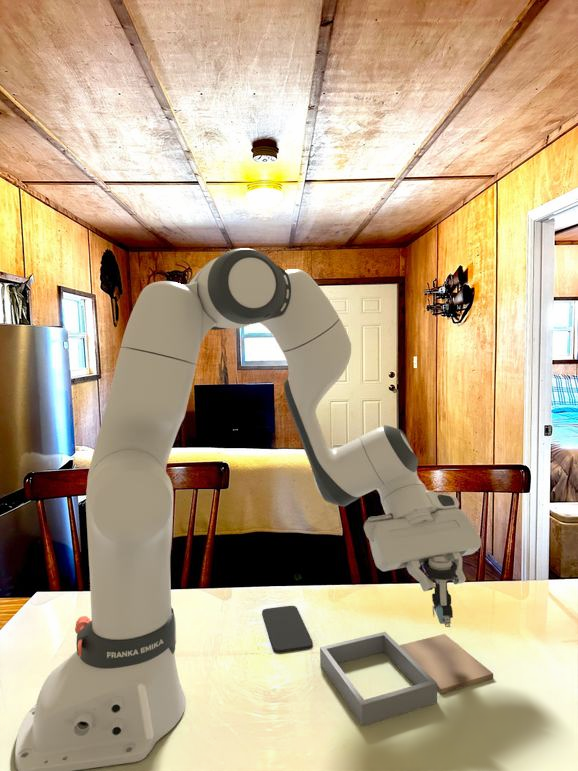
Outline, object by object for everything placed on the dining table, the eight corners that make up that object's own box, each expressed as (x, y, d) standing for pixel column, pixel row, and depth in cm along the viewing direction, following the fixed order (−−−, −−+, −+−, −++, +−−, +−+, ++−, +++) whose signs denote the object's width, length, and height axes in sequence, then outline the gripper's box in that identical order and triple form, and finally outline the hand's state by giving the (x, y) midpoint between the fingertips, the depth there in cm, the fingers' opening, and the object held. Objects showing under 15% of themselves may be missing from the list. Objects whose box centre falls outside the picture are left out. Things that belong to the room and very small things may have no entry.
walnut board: (441, 694, 72) (441, 689, 72) (397, 650, 84) (397, 645, 84) (493, 678, 76) (493, 673, 76) (444, 638, 87) (444, 633, 87)
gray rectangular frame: (362, 725, 66) (361, 705, 66) (320, 664, 80) (320, 647, 80) (437, 702, 71) (437, 683, 70) (385, 648, 84) (385, 631, 84)
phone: (295, 604, 100) (314, 645, 85) (295, 608, 100) (314, 649, 85) (260, 609, 98) (273, 650, 83) (261, 613, 98) (274, 655, 83)
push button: (464, 630, 76) (462, 569, 75) (430, 630, 76) (427, 569, 76) (455, 608, 82) (452, 552, 82) (423, 608, 83) (421, 552, 83)
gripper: (366, 509, 82) (398, 590, 73) (463, 495, 88) (503, 567, 80) (354, 526, 86) (383, 605, 77) (448, 512, 93) (484, 582, 84)
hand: (445, 586), depth 79 cm, fingers closed on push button, 5 cm apart
